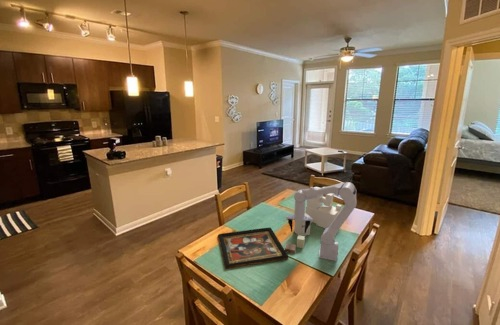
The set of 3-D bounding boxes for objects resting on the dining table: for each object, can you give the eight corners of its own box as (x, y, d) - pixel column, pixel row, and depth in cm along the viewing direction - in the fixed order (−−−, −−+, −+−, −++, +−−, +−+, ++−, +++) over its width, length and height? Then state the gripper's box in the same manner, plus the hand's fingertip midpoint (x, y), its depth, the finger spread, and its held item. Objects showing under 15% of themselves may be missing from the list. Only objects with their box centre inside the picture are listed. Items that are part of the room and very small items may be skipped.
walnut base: (295, 248, 143) (296, 244, 143) (294, 254, 138) (294, 250, 138) (286, 246, 145) (286, 243, 144) (284, 252, 140) (284, 248, 139)
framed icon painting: (267, 226, 167) (268, 223, 166) (294, 258, 135) (294, 254, 134) (212, 238, 154) (212, 234, 153) (227, 276, 122) (227, 271, 121)
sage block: (304, 244, 147) (304, 236, 145) (303, 248, 143) (304, 240, 142) (297, 243, 148) (298, 235, 146) (296, 246, 144) (297, 238, 143)
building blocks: (339, 224, 170) (343, 190, 163) (332, 231, 161) (336, 196, 155) (311, 214, 183) (313, 183, 177) (303, 220, 175) (305, 187, 168)
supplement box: (300, 237, 154) (301, 219, 150) (293, 231, 161) (294, 213, 157) (310, 234, 157) (311, 217, 153) (303, 229, 163) (304, 212, 160)
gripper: (312, 208, 142) (310, 229, 145) (287, 206, 144) (286, 226, 148) (313, 214, 135) (311, 235, 139) (286, 211, 138) (285, 233, 141)
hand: (298, 231), depth 143 cm, fingers open, 7 cm apart
